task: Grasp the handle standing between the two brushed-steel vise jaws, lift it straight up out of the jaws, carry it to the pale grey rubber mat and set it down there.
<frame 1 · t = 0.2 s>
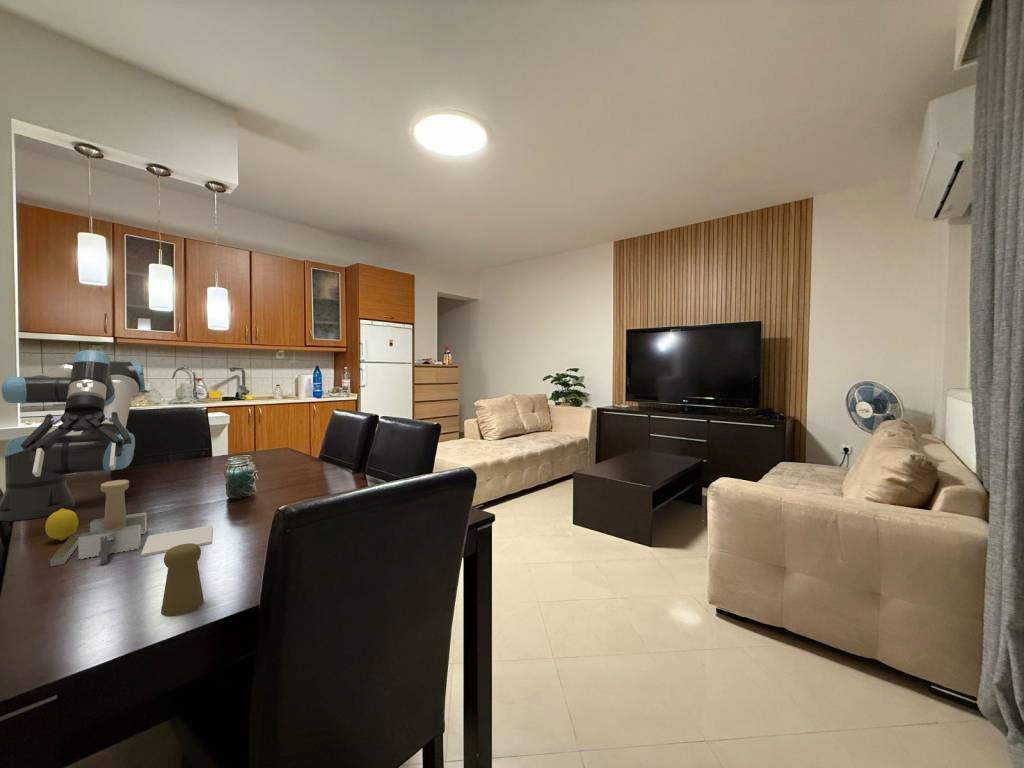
hand: (75, 471, 105), 16 cm above the table, tool tilted 35°, fingers open, 13 cm apart
handle: (115, 545, 100), resting in vise
mat: (179, 540, 102), on the table
cork: (182, 607, 74), on the table
vise: (115, 544, 100), on the table
lemon: (62, 541, 101), on the table
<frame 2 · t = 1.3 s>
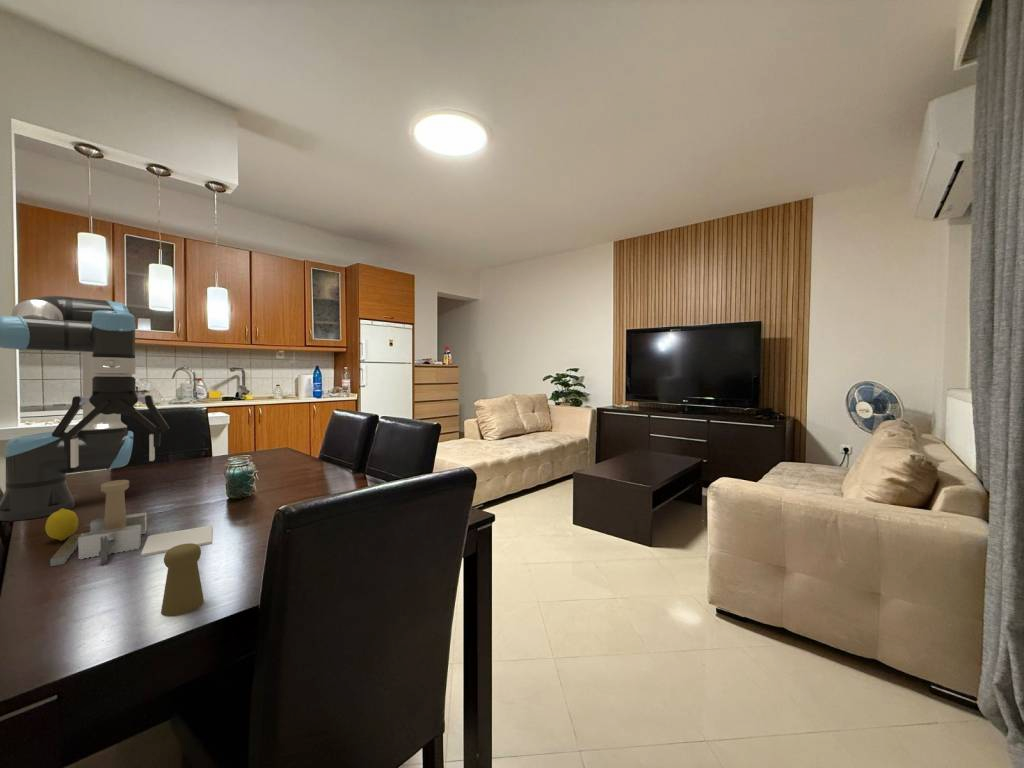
hand: (114, 463, 99), 20 cm above the table, tool pointing down, fingers open, 13 cm apart
nothing on the table moved.
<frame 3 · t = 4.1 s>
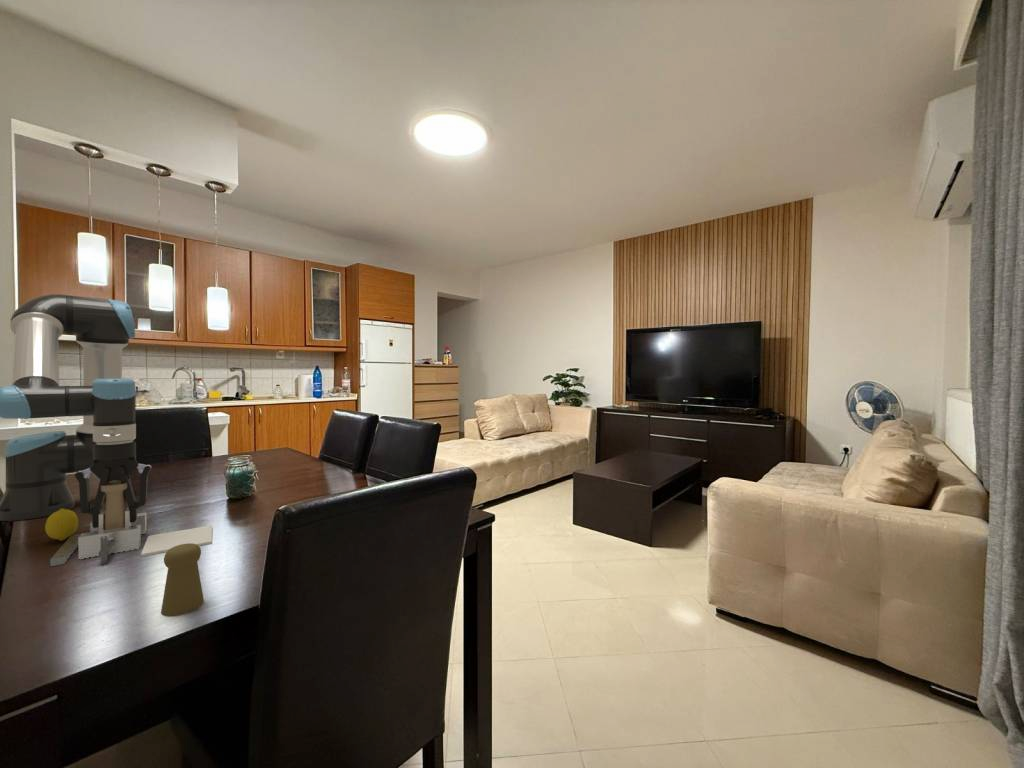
hand: (115, 537, 100), 2 cm above the table, tool pointing down, fingers closed on handle, 4 cm apart
handle: (115, 545, 100), resting in vise, touching gripper
everything else where it was.
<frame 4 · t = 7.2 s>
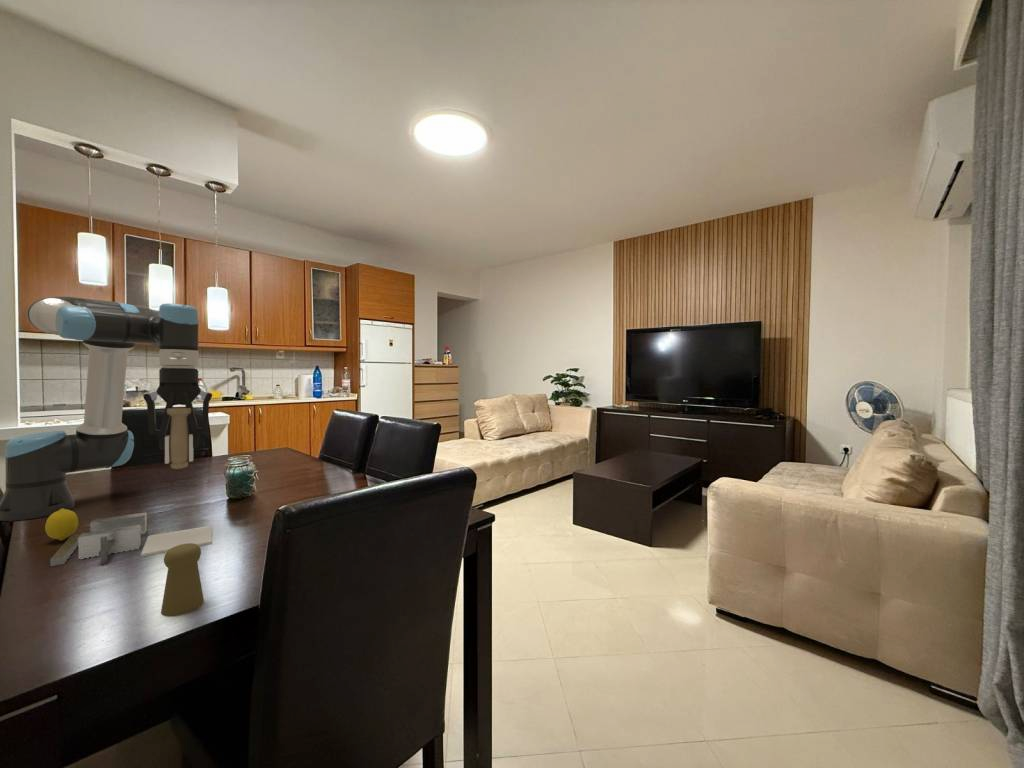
hand: (179, 461, 102), 20 cm above the table, tool pointing down, fingers closed on handle, 4 cm apart
handle: (179, 468, 102), point 18 cm above the table, touching gripper
everything else where it was.
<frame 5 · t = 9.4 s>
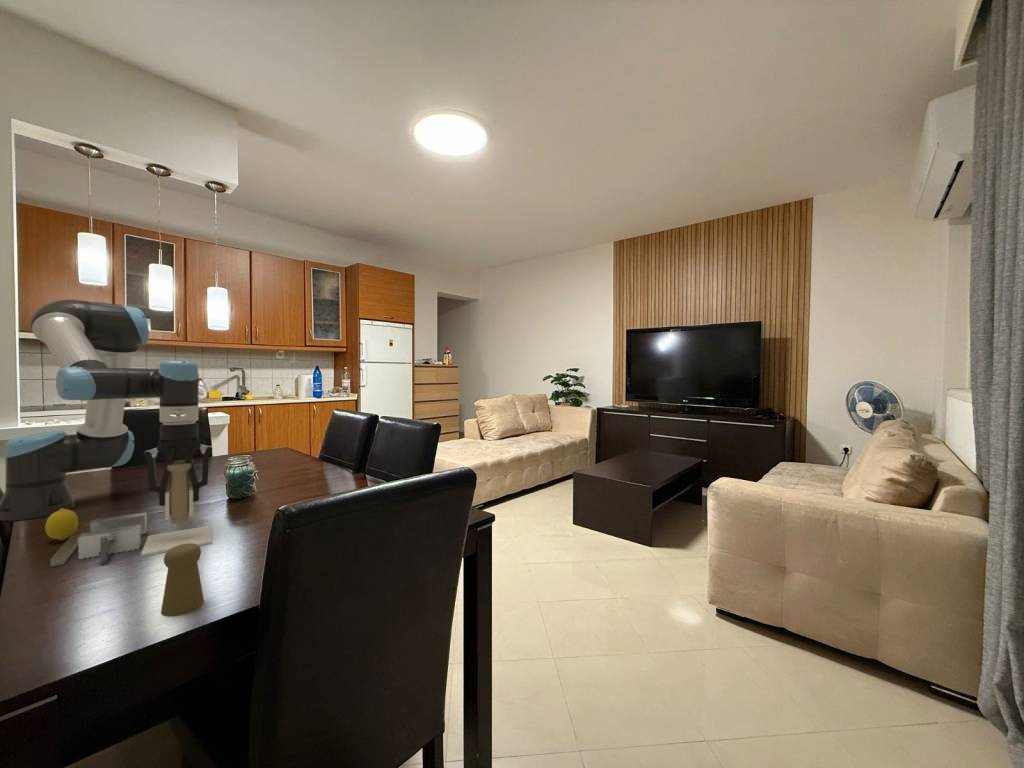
hand: (179, 516, 102), 6 cm above the table, tool pointing down, fingers closed on handle, 4 cm apart
handle: (179, 523, 102), point 4 cm above the table, touching gripper
everything else where it was.
when the fingers open (4 cm above the table, at t = 10.7 s): handle drops 1 cm, resting on mat.
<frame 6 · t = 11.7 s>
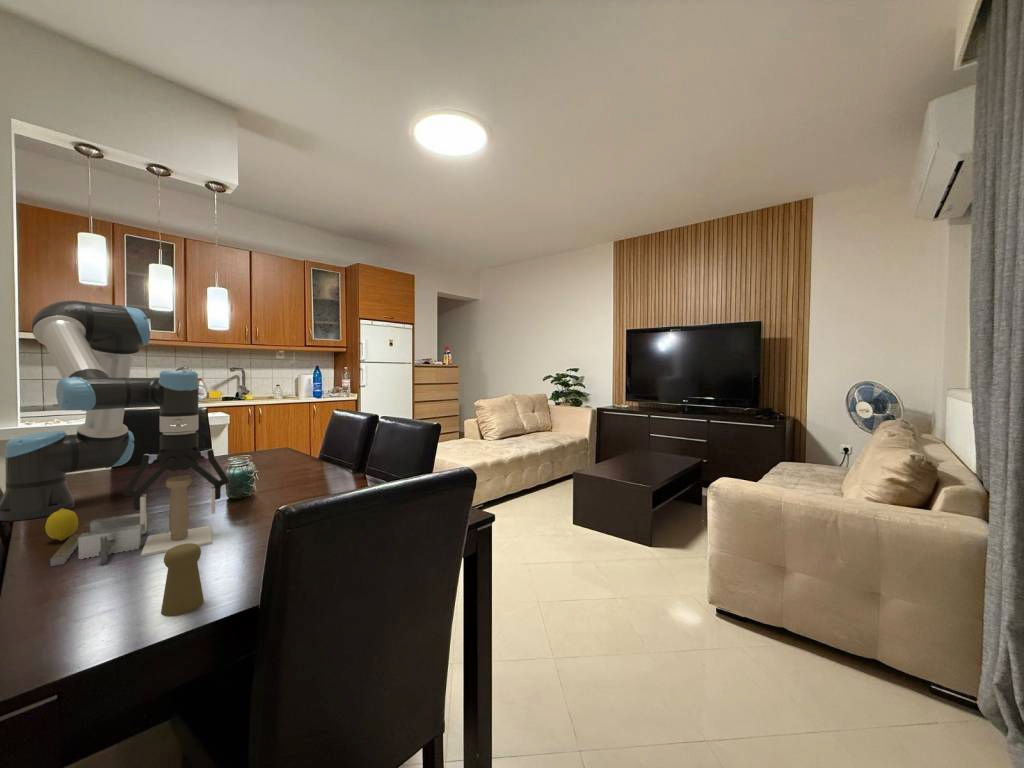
hand: (179, 517, 102), 6 cm above the table, tool pointing down, fingers open, 13 cm apart
handle: (179, 539, 102), resting on mat
everything else where it was.
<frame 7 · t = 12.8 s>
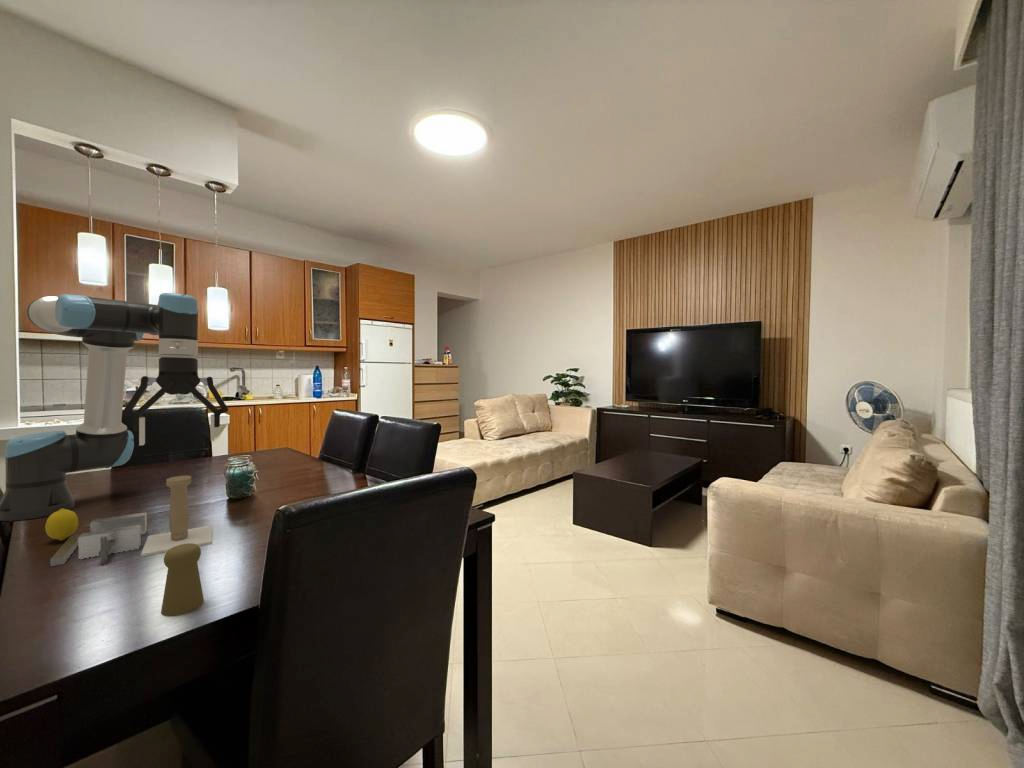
hand: (178, 442, 102), 25 cm above the table, tool pointing down, fingers open, 13 cm apart
nothing on the table moved.
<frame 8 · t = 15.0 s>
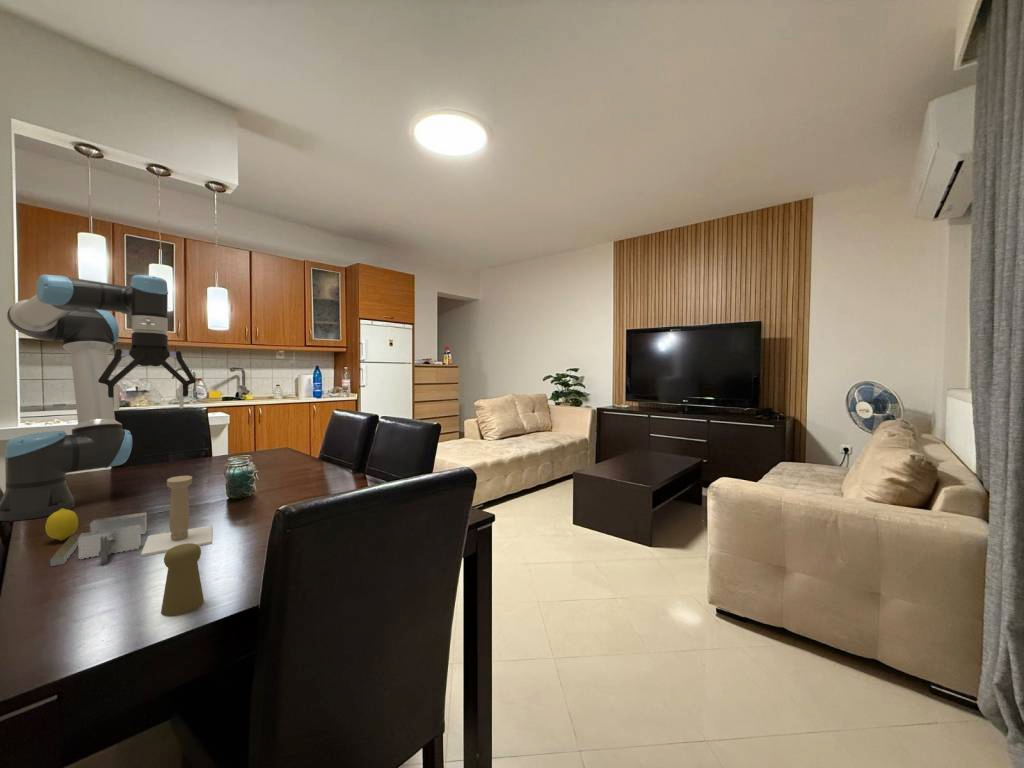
hand: (150, 409, 114), 32 cm above the table, tool pointing down, fingers open, 13 cm apart
nothing on the table moved.
at the end: handle inside the target area on the mat (0.0 cm from its centre), point 0.4 cm above the mat's base; handle moved 13.8 cm from its start; the gripper is holding nothing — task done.
